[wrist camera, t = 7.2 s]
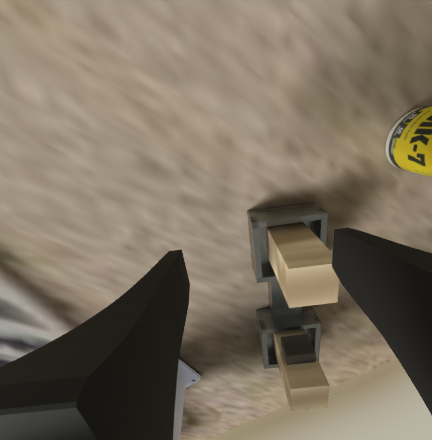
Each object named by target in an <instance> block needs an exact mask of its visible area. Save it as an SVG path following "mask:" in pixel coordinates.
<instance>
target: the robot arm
mask: <svg viewBox="0 0 432 440" xmlns="http://www.w3.org/2000/svg"><path fill="white" fill-rule="evenodd" d="M332 268H333V270H334V271H335V273H336V275H337V277H338V278H339V280H340V282H341V283H342V285H343V286H344V287H345V289H346V290H347V291H348V293H349V294H350V295H351V296H352V298H353V299H354V300H355V301H356V303H357V304H358V305H359V306H360V308H361V309H362V310H363V311H364V313H365V314H366V315H367V316H368V318H369V319H370V320H371V321H372V323H373V324H374V325H375V326H376V328H377V329H378V330H379V332H380V333H381V334H382V336H383V337H384V338H385V340H386V342H387V343H388V345H389V346H390V348H391V349H392V351H393V352H394V354H395V355H396V357H397V358H398V360H399V361H400V363H401V364H402V366H403V368H404V369H405V371H406V373H407V374H408V376H409V377H410V379H411V381H412V382H413V384H414V386H415V387H416V389H417V390H418V392H419V394H420V396H421V397H422V399H423V401H424V402H425V404H426V406H427V408H428V409H429V411H430V413H431V415H432V253H429V252H425V251H422V250H418V249H415V248H411V247H408V246H405V245H402V244H399V243H396V242H393V241H390V240H387V239H384V238H381V237H378V236H374V235H371V234H368V233H365V232H362V231H359V230H355V229H351V228H343V229H335V230H334V243H333V256H332ZM189 288H190V283H189V279H188V275H187V270H186V266H185V262H184V258H183V253H182V250H175V251H169V252H168V253H167V254H166V255H165V256H164V257H163V258H162V259H161V260H160V261H159V262H158V263H157V264H156V265H155V266H154V267H153V268H152V269H151V270H150V271H149V272H148V273H147V274H146V275H145V276H144V277H143V278H141V279H140V280H139V281H138V282H137V283H136V284H135V285H134V286H133V287H132V288H130V289H129V290H128V291H127V292H126V293H125V294H123V295H122V296H121V297H120V298H118V299H117V300H116V301H114V302H113V303H112V304H110V305H109V306H108V307H106V308H105V309H104V310H102V311H101V312H99V313H98V314H96V315H95V316H93V317H92V318H90V319H89V320H87V321H86V322H84V323H82V324H81V325H79V326H78V327H76V328H74V329H73V330H71V331H69V332H68V333H66V334H64V335H62V336H61V337H59V338H57V339H55V340H53V341H52V342H50V343H48V344H46V345H44V346H42V347H41V348H39V349H37V350H35V351H33V352H31V353H29V354H27V355H25V356H23V357H21V358H19V359H17V360H15V361H13V362H11V363H9V364H6V365H4V366H2V367H0V440H180V433H181V423H182V414H183V404H184V395H185V388H186V387H188V386H190V385H192V384H194V383H196V382H198V381H199V380H200V379H201V376H200V375H199V374H198V373H197V372H196V371H194V370H193V369H192V368H190V367H189V366H188V365H187V364H185V363H184V362H183V361H181V360H180V359H179V354H180V348H181V342H182V337H183V332H184V326H185V321H186V315H187V310H188V304H189Z"/></svg>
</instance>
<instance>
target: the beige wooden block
mask: <svg viewBox="0 0 432 440" xmlns="http://www.w3.org/2000/svg"><path fill="white" fill-rule="evenodd" d="M267 237H268V255H269V261H270V263H271V265H272V268H273V270H274V273H275V275H276V277H277V280H278V284H279V286H280V288H281V291H282V293H283V296H284V298H285V300H286V301H287V304H288V306H289V308H294V307H302V306H311V305H319V304H328V303H336V302H337V300H338V290H339V278H338V277H337V275H336V273H335V271H334V270H333V268H332V256H333V253H332V252H331V251H330V250H329V249H328V248H327V247H326V246H325V245H324V244H323V242H322V241H321V240H320V239H319V238H318V237H317V236H316V235H315V234H314V233H313V232H312V231H311V230H310V229H309V227H308V226H307V225H306V224H305V223H299V224H291V225H283V226H276V227H268V228H267Z"/></svg>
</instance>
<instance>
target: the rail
mask: <svg viewBox="0 0 432 440" xmlns="http://www.w3.org/2000/svg"><path fill="white" fill-rule="evenodd" d="M247 213H248V224H249V235H250V246H251V257H252V266H253V270H254V273H255V277H256V280H257V283H261V282H268V288H269V304H270V308H268V309H259V310H256V311H257V322H258V333H259V344H260V350H261V355H262V359H263V364H264V369H265V368H275V367H279V366H278V362H277V359H276V355H275V351H274V343H273V332H282V331H291V330H300V329H304V330H305V332H306V334H307V335H308V337H309V339H310V341H311V343H312V346H313V348H314V350H315V352H316V357H317V359H318V361H319V350H320V334H321V322H320V320H319V319H318V317H317V315H316V313H315V311H314V309H313V308H312V306H302V307H294V308H289V306H288V304H287V301H286V300H285V298H284V296H283V293H282V291H281V288H280V286H279V284H278V280H277V277H276V275H275V273H274V270H273V268H272V265H271V263H270V261H269V255H268V237H267V228H268V227H276V226H283V225H291V224H299V223H305V224H306V225H307V226H308V227H309V229H310V230H311V231H312V232H313V233H314V234H315V235H316V236H317V237H318V238H319V239H320V240H321V241H322V242H323V244H324V245H325V246H326V238H327V222H328V212H326V211H325V210H324V209H322V208H321V207H320V206H318V205H317V204H316V203H314V202H310V203H302V204H295V205H288V206H280V207H273V208H266V209H258V210H251V211H247Z"/></svg>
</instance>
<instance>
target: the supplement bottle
mask: <svg viewBox="0 0 432 440" xmlns="http://www.w3.org/2000/svg"><path fill="white" fill-rule="evenodd" d="M386 156H387V158H388V160H389V162H390V163H391V164H392V165H394V166H395V167H397V168H400V169H403V170H407V171H411V172H415V173H419V174H423V175H426V176H431V177H432V106H426V107H421V108H417V109H415V110H412V111H410V112H409V113H407V114H405V115H404V116H403V117H402V118H400V119H399V120H398V121H397V122H396V124H395V125H394V126H393V128H392V129H391V131H390V133H389V135H388V138H387V142H386Z"/></svg>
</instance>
